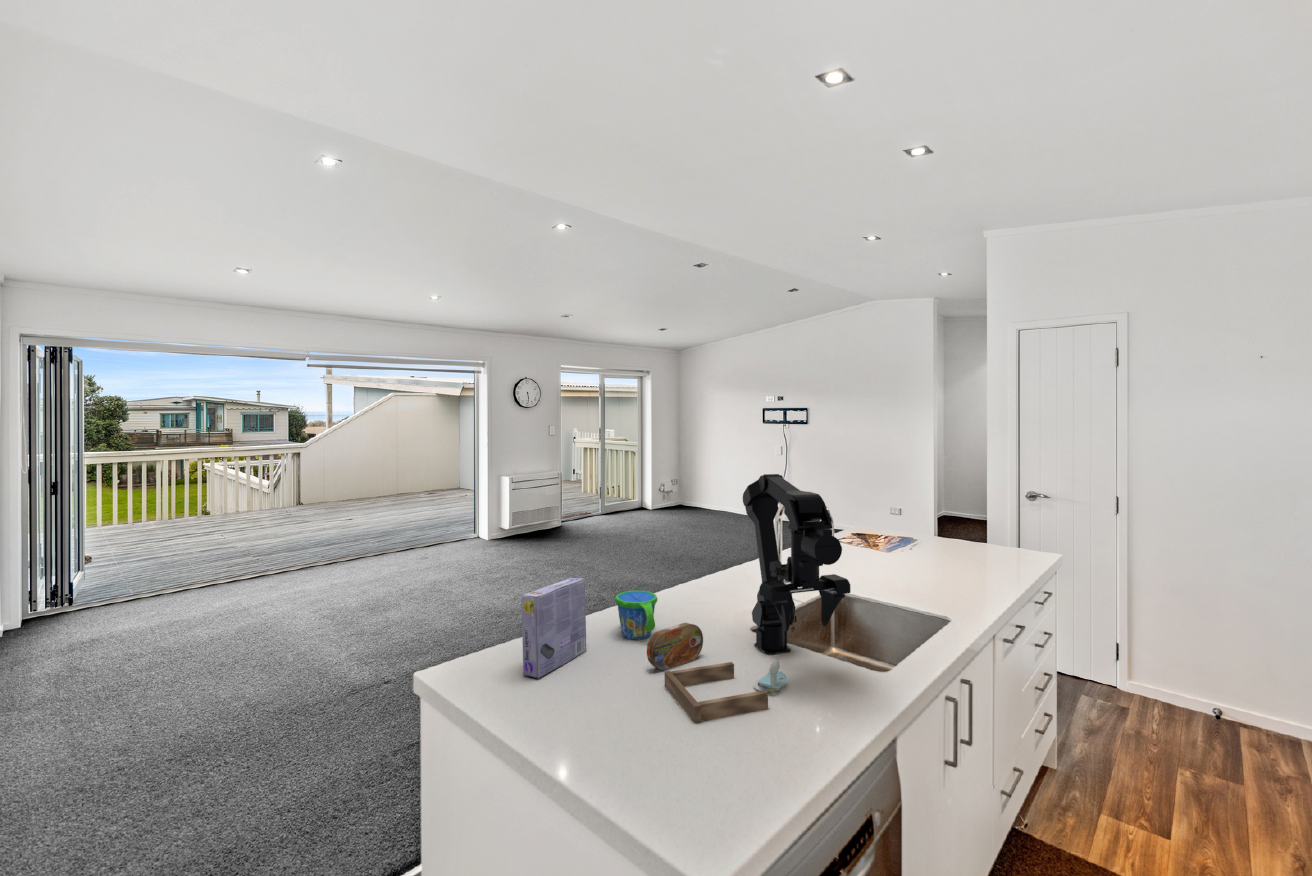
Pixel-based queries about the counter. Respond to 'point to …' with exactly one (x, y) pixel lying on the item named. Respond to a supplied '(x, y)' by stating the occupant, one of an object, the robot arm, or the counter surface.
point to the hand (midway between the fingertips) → (805, 628)
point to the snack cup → (636, 613)
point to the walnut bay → (715, 706)
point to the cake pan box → (553, 626)
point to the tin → (674, 646)
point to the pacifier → (772, 679)
